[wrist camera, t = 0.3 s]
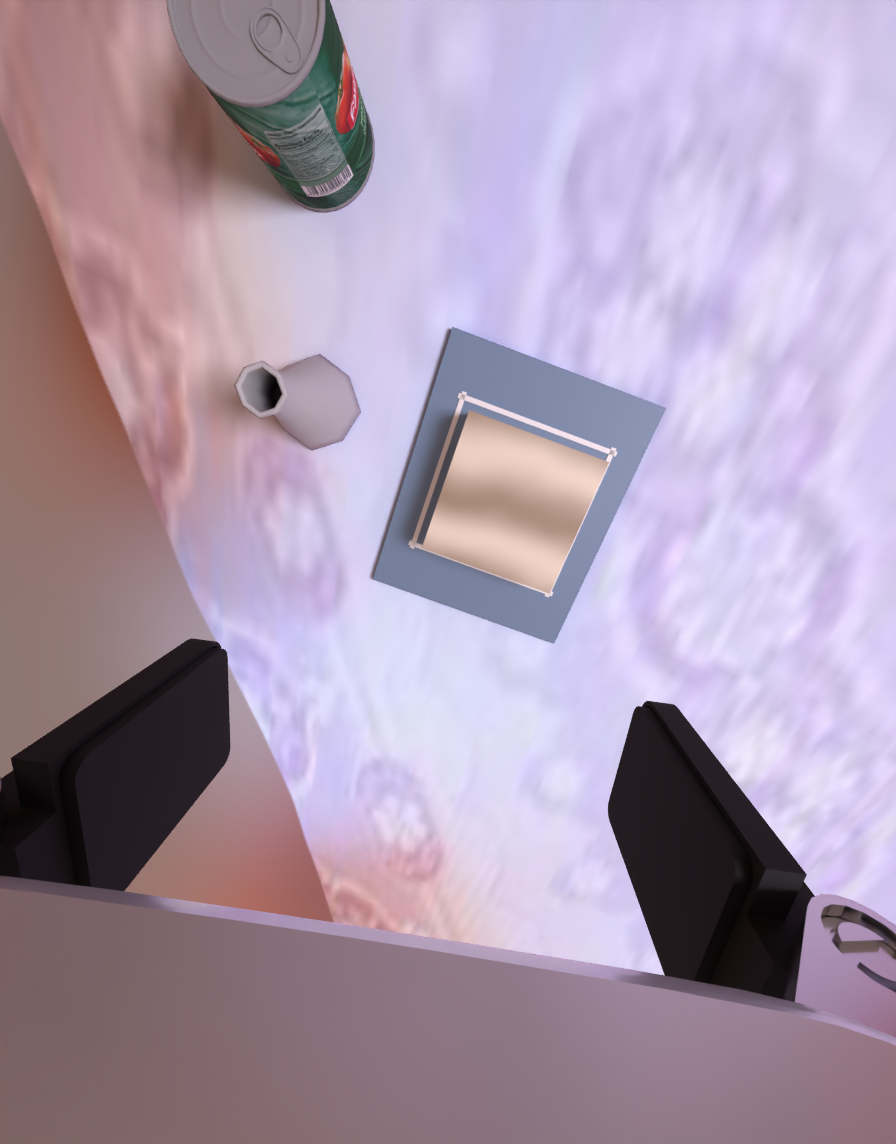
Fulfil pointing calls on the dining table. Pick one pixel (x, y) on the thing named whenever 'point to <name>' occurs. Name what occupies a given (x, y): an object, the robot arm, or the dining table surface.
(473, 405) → the board
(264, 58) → the canned tomato
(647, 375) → the dining table surface
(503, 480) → the birch plinth
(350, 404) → the flask
